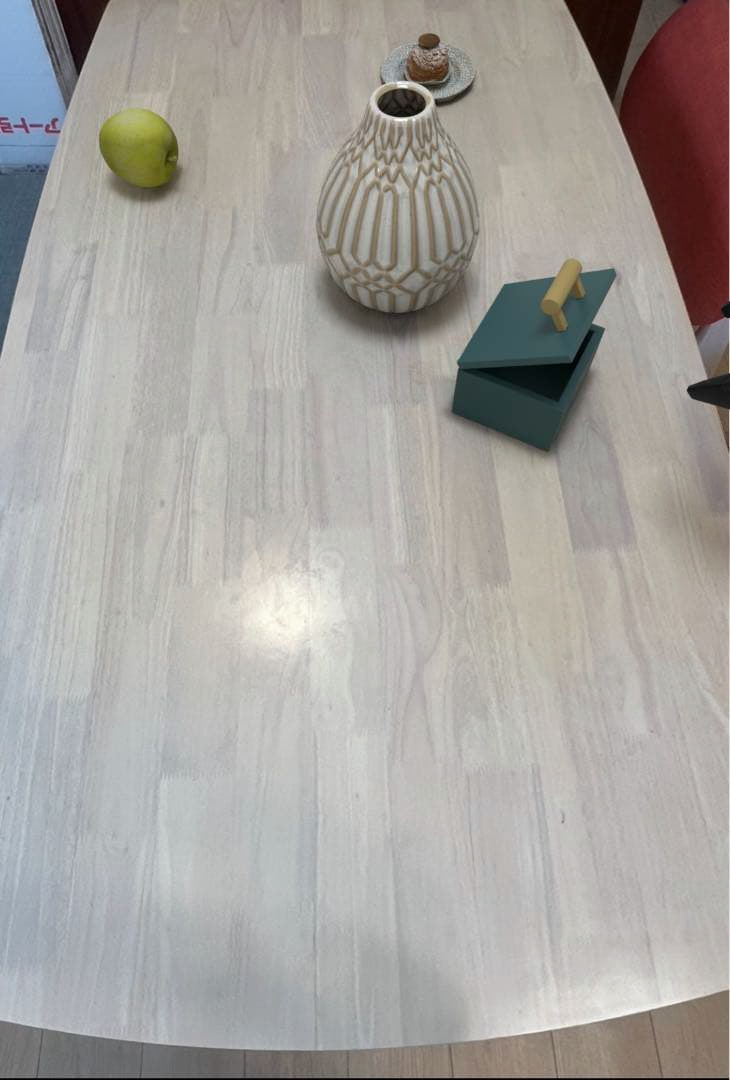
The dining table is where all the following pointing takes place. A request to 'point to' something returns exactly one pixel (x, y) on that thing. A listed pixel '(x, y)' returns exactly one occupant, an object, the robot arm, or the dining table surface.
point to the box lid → (539, 319)
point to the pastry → (430, 67)
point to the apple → (139, 147)
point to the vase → (398, 205)
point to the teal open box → (525, 394)
